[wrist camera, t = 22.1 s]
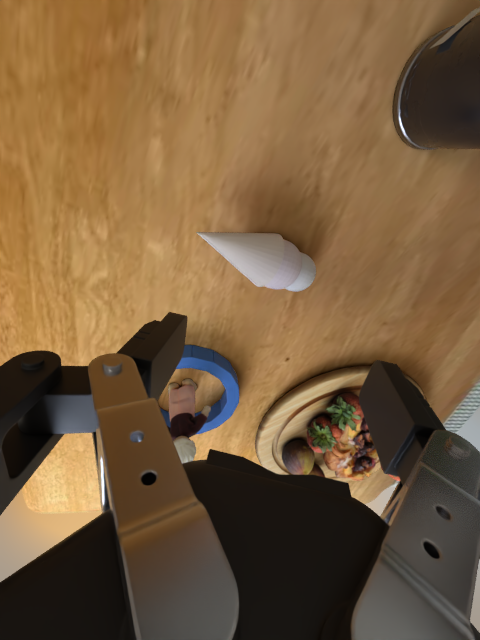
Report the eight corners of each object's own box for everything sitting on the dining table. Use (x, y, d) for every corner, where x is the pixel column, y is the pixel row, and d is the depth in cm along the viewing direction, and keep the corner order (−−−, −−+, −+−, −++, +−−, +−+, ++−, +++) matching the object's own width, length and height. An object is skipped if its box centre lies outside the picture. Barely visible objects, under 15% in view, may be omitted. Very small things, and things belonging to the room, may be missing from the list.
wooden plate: (446, 415, 57) (482, 453, 50) (320, 492, 66) (335, 533, 59) (364, 327, 43) (397, 363, 36) (218, 441, 52) (221, 488, 45)
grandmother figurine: (170, 403, 45) (162, 483, 35) (156, 388, 44) (143, 468, 33) (213, 384, 45) (218, 460, 34) (201, 368, 43) (203, 443, 32)
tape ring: (236, 341, 41) (239, 353, 39) (236, 415, 49) (239, 429, 47) (122, 349, 39) (118, 362, 37) (142, 425, 47) (139, 440, 45)
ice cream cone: (191, 215, 31) (296, 260, 38) (180, 268, 30) (290, 304, 37) (214, 189, 26) (332, 247, 33) (201, 252, 25) (326, 298, 32)
